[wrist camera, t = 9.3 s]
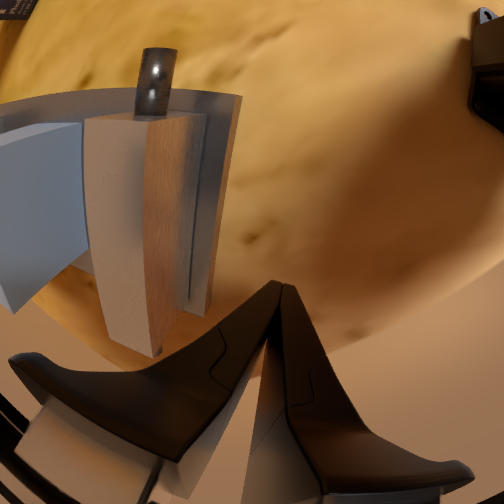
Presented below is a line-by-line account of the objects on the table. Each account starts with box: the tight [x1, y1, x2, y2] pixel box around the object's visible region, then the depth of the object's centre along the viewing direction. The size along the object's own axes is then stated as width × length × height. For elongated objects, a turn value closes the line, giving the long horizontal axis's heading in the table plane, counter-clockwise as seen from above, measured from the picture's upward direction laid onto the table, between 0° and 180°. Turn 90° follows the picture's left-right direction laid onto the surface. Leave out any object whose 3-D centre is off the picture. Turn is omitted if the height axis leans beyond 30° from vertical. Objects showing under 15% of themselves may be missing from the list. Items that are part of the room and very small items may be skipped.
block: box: [0, 123, 88, 314], centre depth 11 cm, size 5×8×7 cm, turn 169°
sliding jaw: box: [84, 48, 207, 358], centre depth 11 cm, size 2×15×4 cm, turn 169°
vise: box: [0, 88, 242, 317], centre depth 12 cm, size 22×12×6 cm, turn 79°
